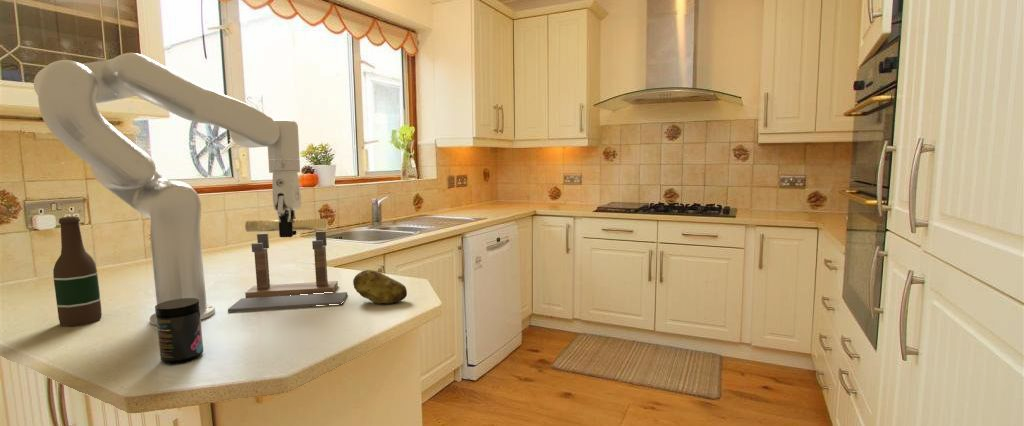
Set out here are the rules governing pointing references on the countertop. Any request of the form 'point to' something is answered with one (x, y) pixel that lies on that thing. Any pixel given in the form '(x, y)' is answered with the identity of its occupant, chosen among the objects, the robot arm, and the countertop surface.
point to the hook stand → (297, 288)
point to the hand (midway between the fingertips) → (288, 235)
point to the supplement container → (179, 330)
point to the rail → (296, 225)
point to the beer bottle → (75, 278)
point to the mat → (287, 301)
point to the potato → (379, 287)
